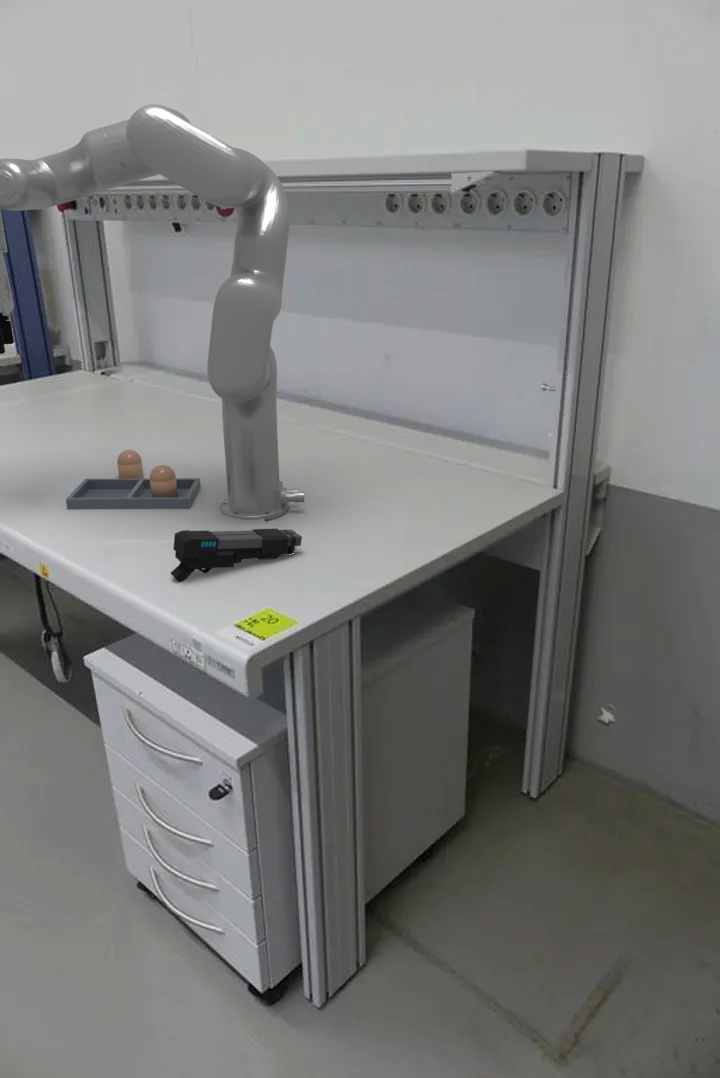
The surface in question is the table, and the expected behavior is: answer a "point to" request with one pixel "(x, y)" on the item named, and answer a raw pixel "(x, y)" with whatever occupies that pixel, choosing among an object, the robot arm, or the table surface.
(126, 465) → the egg
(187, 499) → the divided grey tray
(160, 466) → the seated egg
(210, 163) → the robot arm
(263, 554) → the gun
